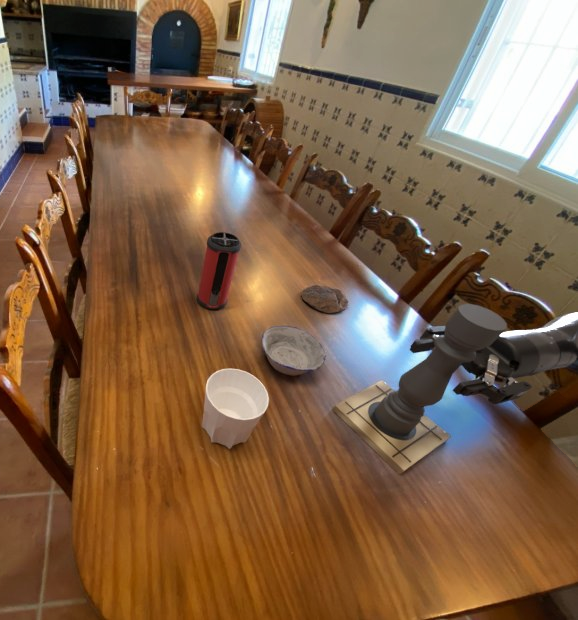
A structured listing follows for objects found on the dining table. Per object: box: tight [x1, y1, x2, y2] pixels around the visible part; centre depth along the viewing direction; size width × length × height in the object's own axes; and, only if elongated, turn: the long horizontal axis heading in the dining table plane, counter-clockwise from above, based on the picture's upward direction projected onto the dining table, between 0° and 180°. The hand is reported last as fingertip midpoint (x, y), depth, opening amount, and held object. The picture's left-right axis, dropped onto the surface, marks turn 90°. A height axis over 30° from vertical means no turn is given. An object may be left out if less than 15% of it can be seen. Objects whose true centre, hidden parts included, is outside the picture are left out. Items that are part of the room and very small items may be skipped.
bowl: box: [261, 325, 327, 377], centre depth 75 cm, size 13×13×5 cm
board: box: [332, 379, 452, 475], centre depth 66 cm, size 14×14×2 cm
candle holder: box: [374, 303, 508, 435], centre depth 57 cm, size 6×6×25 cm
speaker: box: [196, 231, 242, 310], centre depth 86 cm, size 8×8×18 cm
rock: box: [300, 284, 349, 314], centre depth 94 cm, size 11×12×3 cm
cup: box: [200, 367, 270, 450], centre depth 60 cm, size 10×10×10 cm
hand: (434, 367), depth 56 cm, fingers open, 8 cm apart
